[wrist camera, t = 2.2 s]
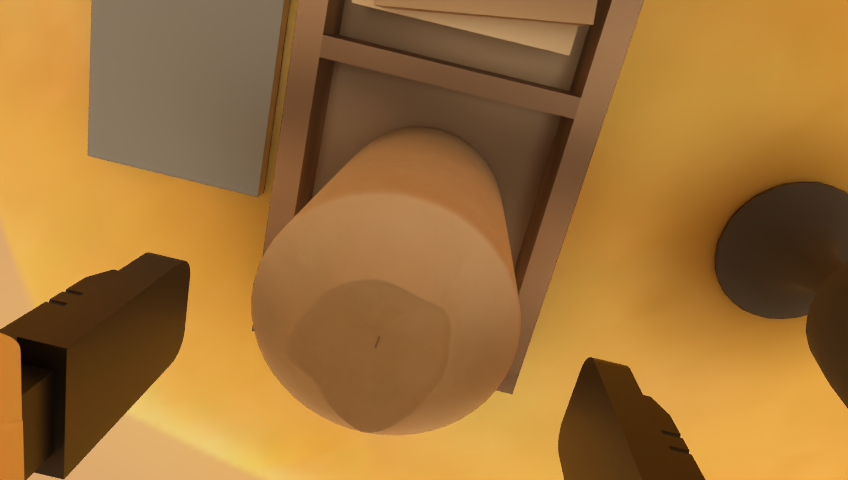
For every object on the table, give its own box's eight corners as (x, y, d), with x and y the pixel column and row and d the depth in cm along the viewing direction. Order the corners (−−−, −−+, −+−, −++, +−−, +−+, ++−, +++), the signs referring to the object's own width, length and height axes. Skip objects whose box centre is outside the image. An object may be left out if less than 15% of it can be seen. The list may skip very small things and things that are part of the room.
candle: (483, 293, 21) (492, 509, 11) (331, 265, 21) (215, 456, 11) (517, 141, 19) (561, 247, 9) (350, 111, 19) (228, 186, 10)
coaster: (105, -65, 18) (93, -68, 18) (292, -19, 18) (286, -21, 18) (98, 152, 20) (87, 155, 20) (263, 192, 20) (257, 197, 20)
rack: (359, -242, 16) (311, -356, 11) (675, -164, 16) (759, -246, 11) (275, 298, 22) (221, 371, 17) (508, 355, 22) (517, 443, 17)
